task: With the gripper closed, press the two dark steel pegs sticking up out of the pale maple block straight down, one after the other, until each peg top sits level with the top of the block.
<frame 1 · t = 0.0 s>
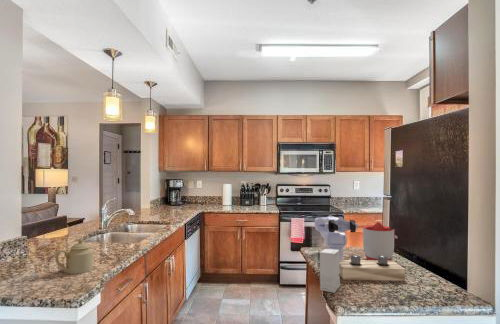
hand: (346, 227, 138), 22 cm above the counter, tool horizontal, fingers open, 7 cm apart
citrus juicer: (380, 260, 164), on the counter
steel peg 2: (382, 261, 140), point 6 cm above the counter, slide at 3.5 cm
skincare box: (329, 288, 125), on the counter
steel peg 1: (355, 261, 141), point 6 cm above the counter, slide at 3.5 cm
maple peg block: (369, 275, 140), on the counter
olive green teapot: (76, 272, 144), on the counter
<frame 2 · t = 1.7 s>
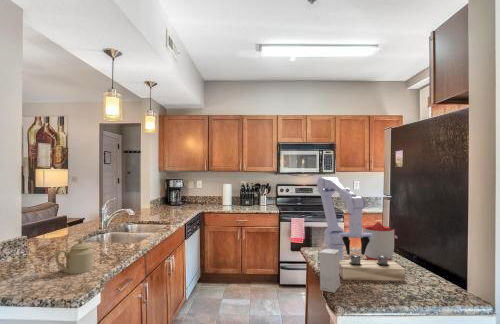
hand: (355, 254, 141), 9 cm above the counter, tool pointing down, fingers open, 6 cm apart
nothing on the counter moved.
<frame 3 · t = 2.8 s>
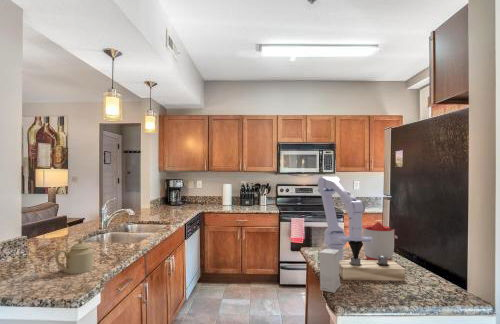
hand: (355, 258, 141), 8 cm above the counter, tool pointing down, fingers closed, pressing on steel peg 1
steel peg 1: (355, 263, 141), point 5 cm above the counter, slide at 2.6 cm, touching gripper
everything else where it was.
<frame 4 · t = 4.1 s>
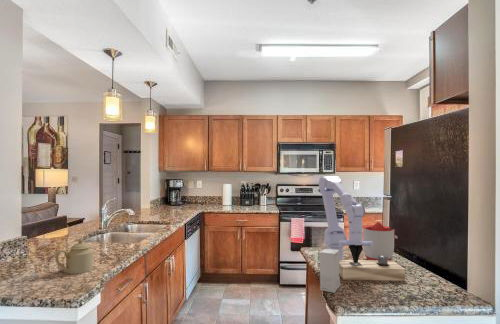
hand: (355, 262, 141), 6 cm above the counter, tool pointing down, fingers closed
steel peg 1: (355, 269, 141), point 3 cm above the counter, slide at -0.1 cm
everything else where it was.
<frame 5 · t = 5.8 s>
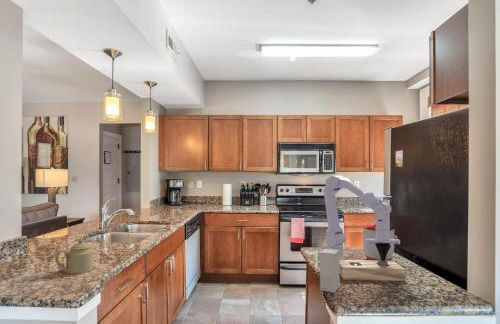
hand: (382, 260, 140), 7 cm above the counter, tool pointing down, fingers closed, pressing on steel peg 2
steel peg 2: (382, 265, 140), point 5 cm above the counter, slide at 1.9 cm, touching gripper
everything else where it was.
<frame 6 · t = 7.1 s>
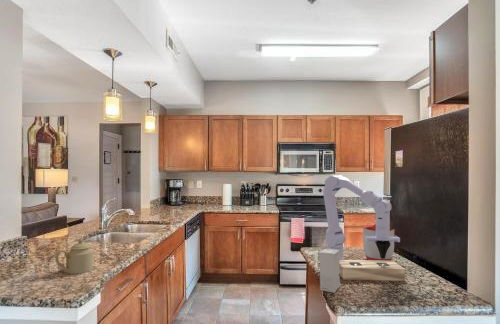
hand: (382, 257, 140), 8 cm above the counter, tool pointing down, fingers closed
steel peg 2: (382, 269, 140), point 3 cm above the counter, slide at -0.1 cm
everything else where it was.
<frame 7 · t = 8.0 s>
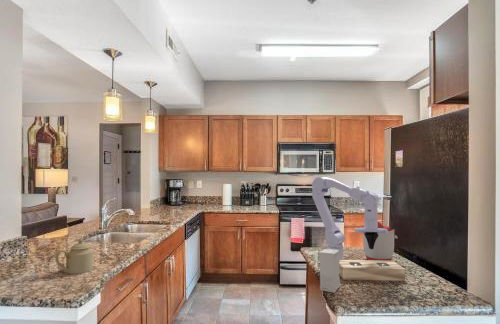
hand: (371, 248, 147), 10 cm above the counter, tool pointing down, fingers closed
nothing on the counter moved.
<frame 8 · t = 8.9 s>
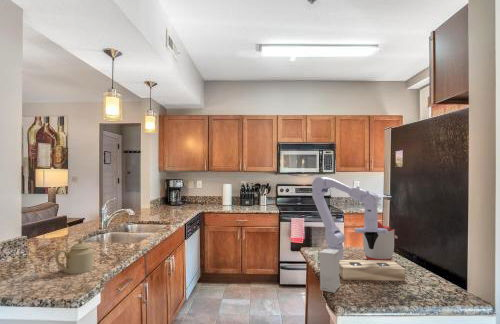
hand: (371, 248, 147), 10 cm above the counter, tool pointing down, fingers closed
nothing on the counter moved.
at the end: steel peg 1 slide at -0.1 cm; steel peg 2 slide at -0.1 cm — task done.
